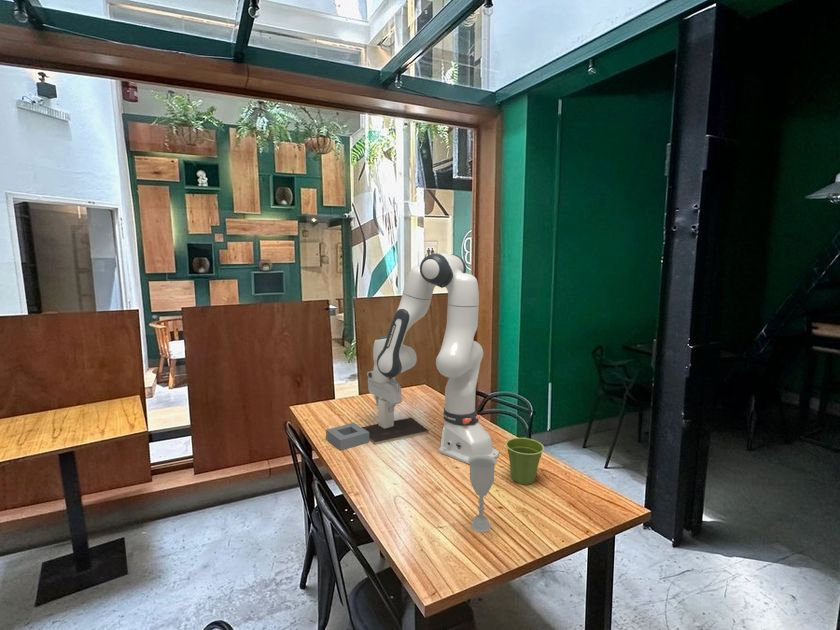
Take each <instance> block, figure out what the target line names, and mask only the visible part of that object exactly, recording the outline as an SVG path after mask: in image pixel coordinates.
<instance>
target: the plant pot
mask: <svg viewBox="0 0 840 630" xmlns="http://www.w3.org/2000/svg"><path fill="white" fill-rule="evenodd" d="M505 447H506V449H507V454H508V459H509V467H510V475H511V476H510V477H511V479H512V480H513V481H514V482H516V483H517V484H520V485H531V484H532V483H534V482H535V481H536V478H537V477H536V475H537V471H538V468H539V463H540V459H541V457H542V453H543V452H544V451H545V446H544V445H543V444H542V443H541V442H540V441H537V440H535V439H532V438H528V437H527V438H526V437H513V438H509V439H508V440H507V441H506V442H505Z"/></svg>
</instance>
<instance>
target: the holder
mask: <svg viewBox="0 0 840 630" xmlns="http://www.w3.org/2000/svg"><path fill="white" fill-rule="evenodd" d="M362 427H363V426H360V425H358V424H357V423H356V422H351V423H347V424H344V425H339V426H335V427H332V428H327V429H325V440H326V441H327V442H329V444H331V445H332V446H334V447H335V448H336V447H337V450H339V449H340V450H342V451H345V450H348V449H351V448H355V447H358V446H361V445H366V444H368V443H370V439H369V432H368V431H367V430H365V429H363V428H362ZM344 449H345V450H344ZM340 450H339V451H340Z"/></svg>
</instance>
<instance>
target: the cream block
mask: <svg viewBox="0 0 840 630" xmlns="http://www.w3.org/2000/svg"><path fill="white" fill-rule="evenodd" d="M389 407H390V402H388V401H386V400H384V399H382V398H380V399H378V406H377V411H378V412H377V414H378V419H377V420H378V421H377V422H378V423H377V424H378V425H379V426H381V427H382V428H384V429H385V428H389V427H392V426H394V421H395V417H394V413H395V411H394V412H392V413H390V412H389V411H388V408H389Z"/></svg>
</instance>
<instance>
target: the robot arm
mask: <svg viewBox="0 0 840 630" xmlns="http://www.w3.org/2000/svg"><path fill="white" fill-rule="evenodd" d="M436 287H439V288H441V289H443V288H446V291H447V311H446V312H447V313H446V326H445V332H444V335H443V340H442V343H441V348H440V351H439V352H438V355H436V359H435V365H436V369H437V371H438V372H439V373H440V375H441V376H443V377H445V378H448V380H447V382H446V384H445V389H444V408H443V420H444V423H443V426H442V432H441V439H440V443H439V444H440V445H439V448H438V452H439V453H440V454H443V455H445V456H448V457H450V458H453V459H456V460H458V461H461V462H463V463H465V464H468V465H470V464H469V462H468V459H469V457H471V456H474V455H487V456H491V457H493V458H495V459H497V458H498V457H499V455H500V452H499V450H497V449H496V448H494V447H493V440H492V438H491V435H490V434H489V431H487V430H486V429H485V428H484V427H483V426H482V424H481V423H480V421H479V419H481V414H478V411H477V409H476V392H477V391H476V389H477V383H478V380H479V379H478V378H479V373H480V368H481V363H482V360H483V358H484V350H483V346H482V345H481V344H480V343H479V342H477V341H475V340H474V337H475V334H476V332H477V330H478V328H479V312H480V311H479V310H480V307H479V306H480V292H479V291H480V290H479V284H478V280H477V278H476V277H475V276H474V275H473V274H470V273H467V265H466V262H465V260H464V259H463V258H462V257H461V256H459V255H458V254H457V255H456V254H453V253H452V254H451V253H448V252H440V253H439V252H438V253H437V252H436V253H431V254H429V255H427V256H425V257H424V258H423V259H422V260H421V263H420V265H416V266H413V267H412V268H411V269H410V271H409V273H408V275H407V277H406V280H405V282H404V286H403V289H402V290H403V291H402V294H401V298H400V301H399V305H398V307H397V309H396V312H395V314H394V315H393V319H392V321H391V323H390V326H389V330H388V333H387V335H385V336H380V337H378V338H376V339H375V340H374V343H373V347H372V356H373V357H372V359H373V369H372V370H371V371H367V374H366V375H367V377H368V378H367V385H368V386H367V389H368V392H369V393H370V394H372V395H373V397H374V400H375V405H376V406H377V407H378V399H381V398H382V399H384V400H386V401H388V402H390V407H389V408H388V411H389V412H390V413H392V412H394V413H395V408H396V405H399V404H402V401H403V395H402V387H401V385H400V383H399V381H398V380H397V379H396V376H398V375H400V374H402V373H405V372H407V371H408V370H411V369H412V368H414V367H415V366H416V365H417V361H418V355H417V352H416V350H415V349H414V348H413V347H412V346H410V345H406V344H404V341H405V337H406V335H407V334H408V333H407V332H408V331H409V330H410V328H411V327H412V326H413V325H414V324H415V323H417V322H418V321H420V320H421V319H422V318H423V317H425V316H426V314H427V313H428V310H429V309H430V307H431V302H432V298H433V293H434V291H435V288H436Z"/></svg>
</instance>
